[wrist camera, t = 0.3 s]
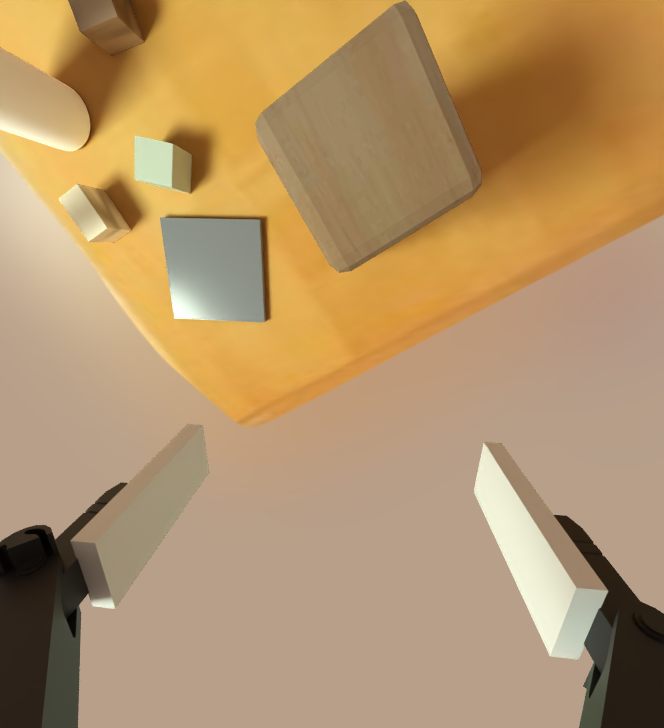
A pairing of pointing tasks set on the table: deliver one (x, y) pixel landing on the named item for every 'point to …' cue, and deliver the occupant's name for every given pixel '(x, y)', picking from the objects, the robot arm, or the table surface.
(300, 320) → the table surface
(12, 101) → the can
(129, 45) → the walnut block
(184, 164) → the sage painted cube
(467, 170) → the wooden block
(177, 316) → the slate coaster
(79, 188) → the pale birch block
